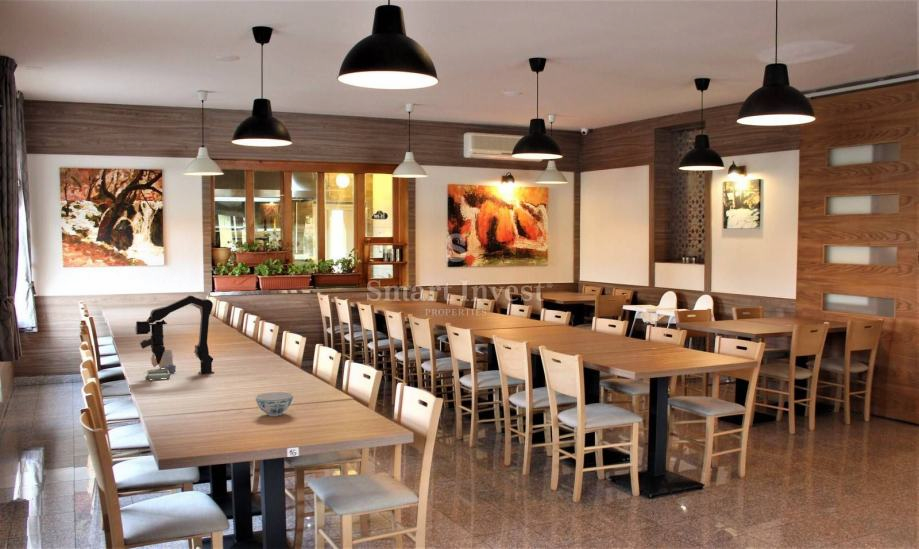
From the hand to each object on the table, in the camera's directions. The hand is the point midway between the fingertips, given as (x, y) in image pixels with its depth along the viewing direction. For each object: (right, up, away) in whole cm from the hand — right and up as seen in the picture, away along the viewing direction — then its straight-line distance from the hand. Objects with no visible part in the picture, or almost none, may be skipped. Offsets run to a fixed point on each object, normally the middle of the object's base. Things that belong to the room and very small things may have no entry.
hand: (158, 363), depth 407 cm
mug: (-8, -6, +28) cm, 30 cm away
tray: (0, -7, 0) cm, 7 cm away
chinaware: (+81, -11, -87) cm, 119 cm away
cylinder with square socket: (+1, -7, +14) cm, 16 cm away
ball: (0, +1, 0) cm, 1 cm away
